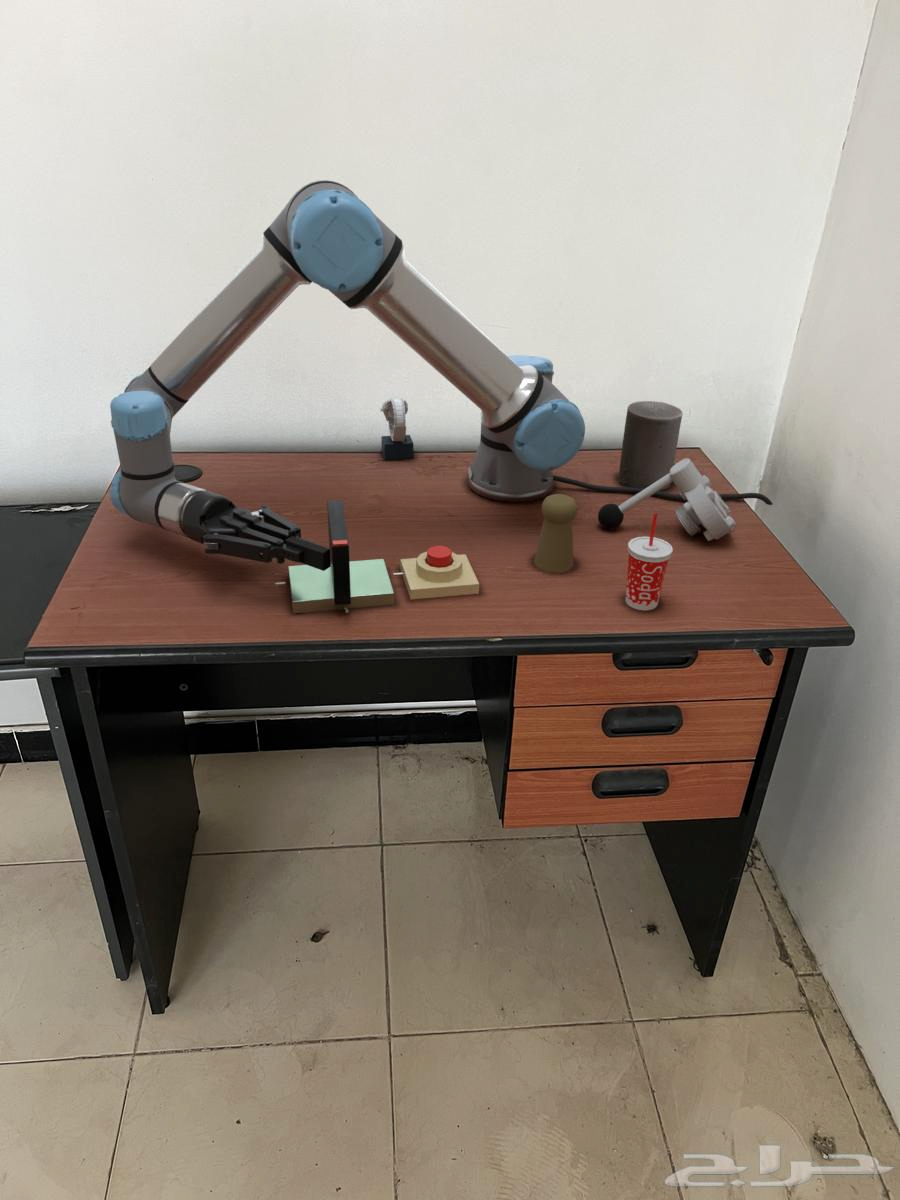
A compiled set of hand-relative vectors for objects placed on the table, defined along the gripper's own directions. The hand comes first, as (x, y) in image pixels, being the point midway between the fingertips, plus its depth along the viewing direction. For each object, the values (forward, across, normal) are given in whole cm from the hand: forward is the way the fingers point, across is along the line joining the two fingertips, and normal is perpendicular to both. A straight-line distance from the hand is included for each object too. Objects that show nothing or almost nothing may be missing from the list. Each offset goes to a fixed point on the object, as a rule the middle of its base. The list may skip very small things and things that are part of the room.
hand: (326, 559), depth 120 cm
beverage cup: (+35, -27, -8) cm, 45 cm away
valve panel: (-2, -5, -8) cm, 10 cm away
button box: (+8, -15, -8) cm, 19 cm away
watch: (-24, -51, -8) cm, 57 cm away
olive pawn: (+20, -30, -8) cm, 37 cm away
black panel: (-2, -5, -6) cm, 8 cm away
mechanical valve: (+30, -50, -8) cm, 59 cm away
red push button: (+8, -15, -5) cm, 18 cm away
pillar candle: (+20, -68, -8) cm, 71 cm away
